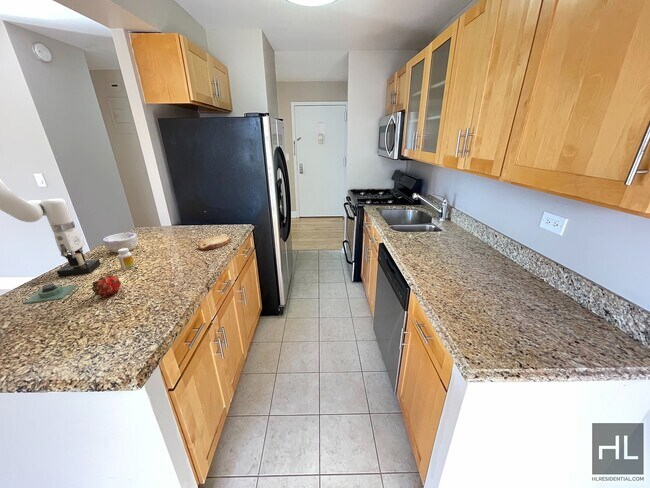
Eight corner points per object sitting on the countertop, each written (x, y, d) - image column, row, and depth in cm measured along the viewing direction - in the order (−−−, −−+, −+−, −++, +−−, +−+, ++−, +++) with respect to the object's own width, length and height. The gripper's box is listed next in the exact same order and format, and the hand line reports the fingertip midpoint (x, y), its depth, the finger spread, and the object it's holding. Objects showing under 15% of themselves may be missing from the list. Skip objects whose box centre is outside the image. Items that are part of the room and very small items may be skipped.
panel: (58, 277, 118) (56, 270, 117) (72, 267, 127) (69, 261, 126) (90, 273, 121) (87, 267, 120) (100, 264, 130) (98, 258, 129)
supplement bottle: (137, 265, 129) (132, 247, 126) (131, 270, 124) (125, 251, 121) (126, 265, 129) (120, 247, 125) (119, 270, 124) (113, 251, 120)
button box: (25, 307, 96) (20, 298, 95) (44, 293, 105) (39, 285, 104) (64, 302, 99) (60, 293, 98) (79, 289, 108) (75, 280, 107)
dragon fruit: (98, 306, 100) (118, 293, 111) (115, 292, 99) (133, 281, 111) (79, 290, 98) (102, 279, 109) (96, 276, 97) (117, 266, 109)
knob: (81, 266, 121) (77, 255, 119) (70, 267, 120) (65, 257, 118) (86, 262, 125) (82, 252, 123) (75, 263, 124) (71, 253, 122)
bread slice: (230, 237, 166) (229, 231, 165) (231, 247, 151) (231, 241, 149) (199, 240, 160) (198, 235, 159) (198, 251, 144) (196, 245, 143)
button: (41, 293, 99) (39, 289, 98) (47, 288, 102) (45, 284, 102) (52, 291, 100) (50, 287, 99) (58, 287, 103) (57, 283, 102)
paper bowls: (146, 244, 154) (142, 232, 151) (125, 255, 140) (121, 241, 137) (122, 244, 155) (118, 231, 152) (99, 254, 141) (94, 240, 138)
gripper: (61, 231, 109) (77, 270, 116) (84, 220, 124) (96, 255, 131) (39, 233, 107) (56, 272, 114) (65, 221, 122) (79, 257, 129)
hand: (78, 262), depth 122 cm, fingers closed on knob, 4 cm apart
